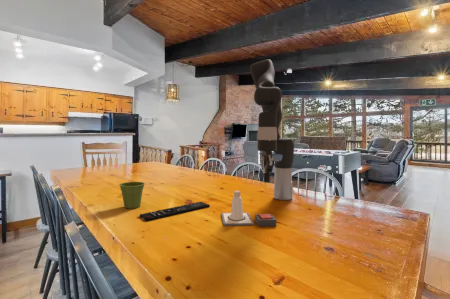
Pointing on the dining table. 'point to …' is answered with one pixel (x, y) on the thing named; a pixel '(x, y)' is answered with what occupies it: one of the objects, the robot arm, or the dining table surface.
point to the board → (236, 220)
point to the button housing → (265, 221)
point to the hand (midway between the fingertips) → (266, 182)
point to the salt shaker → (237, 206)
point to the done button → (265, 216)
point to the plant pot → (132, 194)
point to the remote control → (173, 211)
